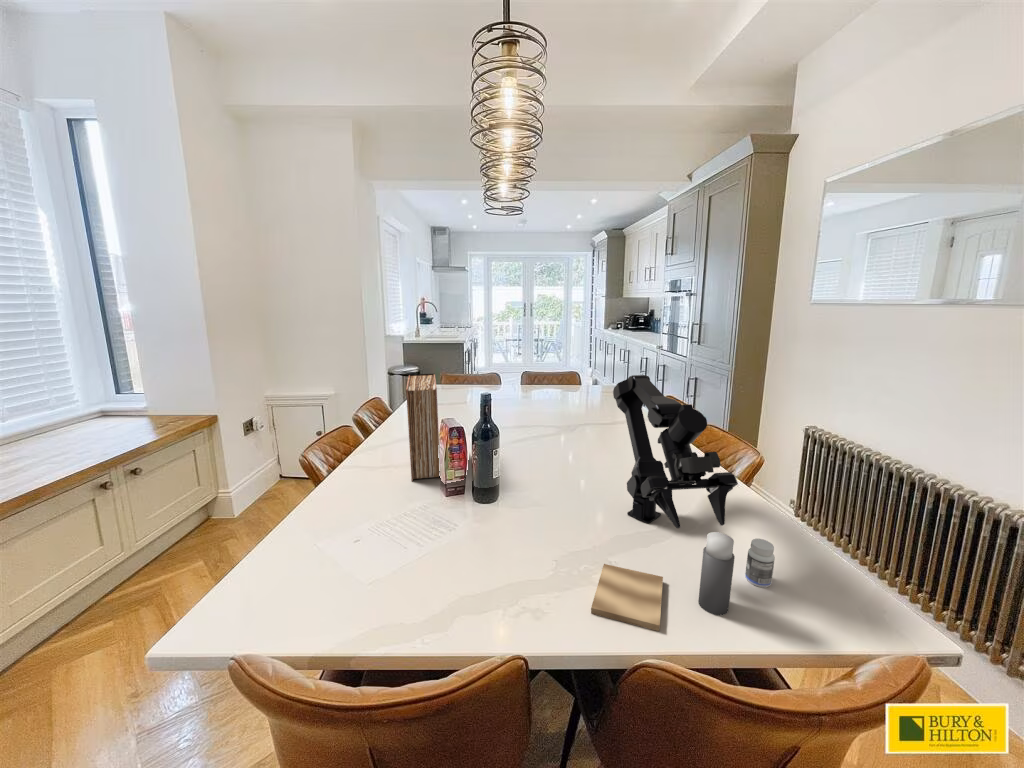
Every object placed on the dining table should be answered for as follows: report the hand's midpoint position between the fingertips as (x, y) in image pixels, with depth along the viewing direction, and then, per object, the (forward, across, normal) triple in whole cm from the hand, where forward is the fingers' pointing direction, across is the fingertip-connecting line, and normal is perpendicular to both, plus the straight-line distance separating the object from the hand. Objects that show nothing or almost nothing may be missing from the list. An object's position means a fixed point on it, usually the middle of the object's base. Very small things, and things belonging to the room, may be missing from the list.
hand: (700, 526), depth 84 cm
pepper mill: (+14, 0, +4) cm, 14 cm away
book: (-39, -61, +57) cm, 93 cm away
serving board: (+11, -15, +7) cm, 20 cm away
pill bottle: (+10, +13, +9) cm, 18 cm away
